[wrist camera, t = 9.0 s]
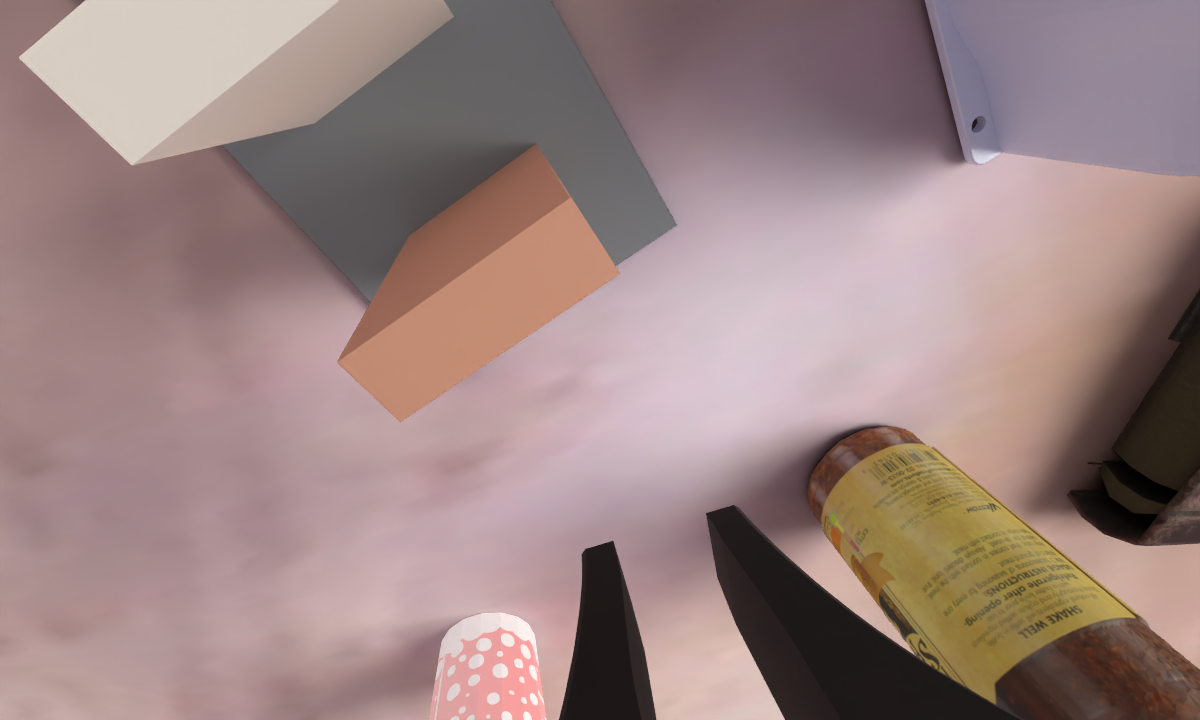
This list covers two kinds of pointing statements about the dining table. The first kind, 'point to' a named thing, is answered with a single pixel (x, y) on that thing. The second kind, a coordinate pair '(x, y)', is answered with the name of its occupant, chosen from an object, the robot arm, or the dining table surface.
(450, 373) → the terracotta domino
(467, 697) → the beverage cup
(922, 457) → the sauce bottle
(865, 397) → the dining table surface
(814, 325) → the dining table surface
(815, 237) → the dining table surface
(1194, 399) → the diary
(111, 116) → the domino
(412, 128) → the slate mat
